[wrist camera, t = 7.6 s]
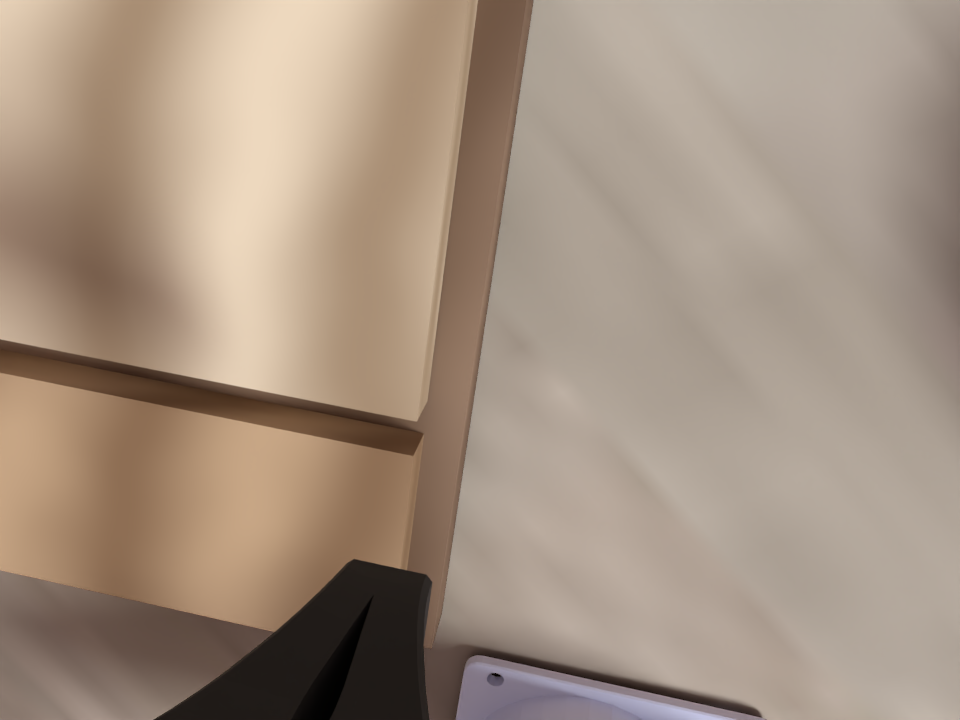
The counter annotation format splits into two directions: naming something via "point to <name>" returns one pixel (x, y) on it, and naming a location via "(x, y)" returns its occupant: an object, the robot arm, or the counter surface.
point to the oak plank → (234, 187)
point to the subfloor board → (260, 437)
